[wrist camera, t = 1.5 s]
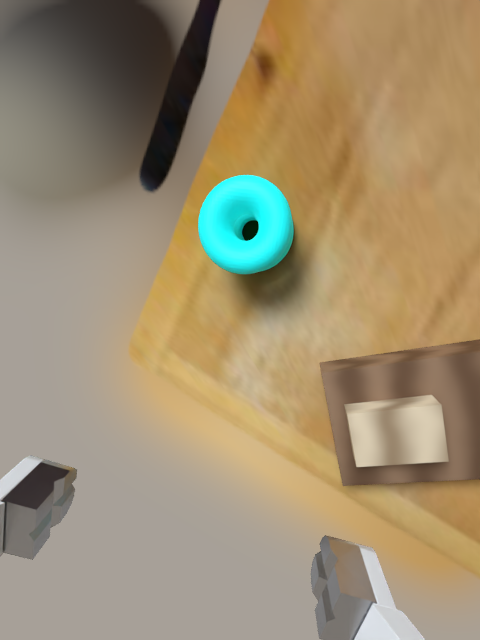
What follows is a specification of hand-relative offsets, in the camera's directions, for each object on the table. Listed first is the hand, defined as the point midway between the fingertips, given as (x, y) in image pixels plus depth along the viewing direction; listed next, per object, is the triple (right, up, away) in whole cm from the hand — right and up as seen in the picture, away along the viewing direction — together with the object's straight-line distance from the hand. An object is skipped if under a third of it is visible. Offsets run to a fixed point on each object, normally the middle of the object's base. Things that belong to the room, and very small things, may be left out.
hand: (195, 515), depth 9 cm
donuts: (+4, +18, +30) cm, 35 cm away
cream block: (+20, -7, +27) cm, 34 cm away
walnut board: (+24, -6, +30) cm, 39 cm away
